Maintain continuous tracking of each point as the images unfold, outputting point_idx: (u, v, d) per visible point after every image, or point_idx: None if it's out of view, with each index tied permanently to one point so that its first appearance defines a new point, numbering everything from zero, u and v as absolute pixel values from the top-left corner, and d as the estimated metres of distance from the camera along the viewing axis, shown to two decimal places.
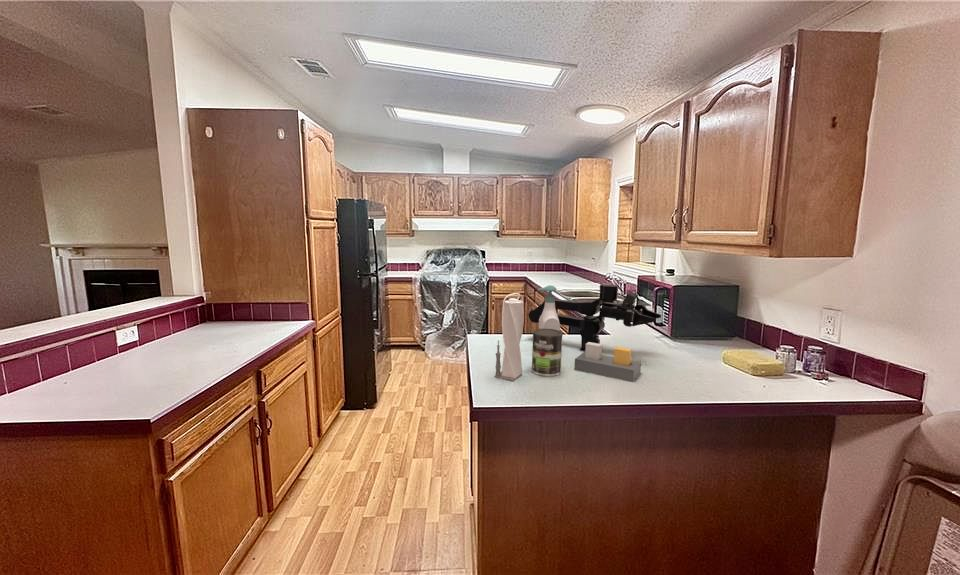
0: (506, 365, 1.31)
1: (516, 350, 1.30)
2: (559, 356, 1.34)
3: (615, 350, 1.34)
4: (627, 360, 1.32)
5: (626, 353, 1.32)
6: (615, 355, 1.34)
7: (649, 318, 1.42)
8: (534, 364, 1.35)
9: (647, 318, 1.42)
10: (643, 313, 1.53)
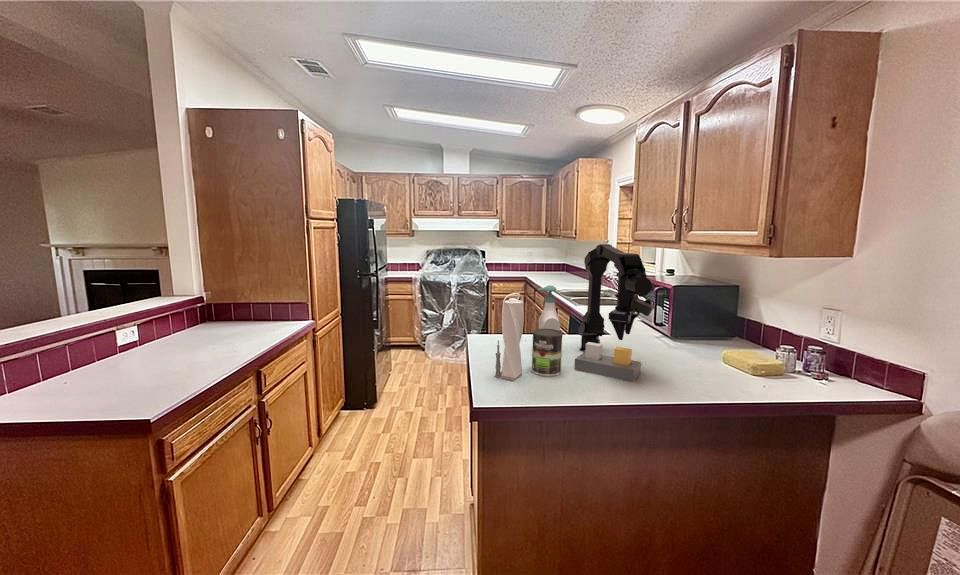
0: (506, 365, 1.31)
1: (516, 350, 1.30)
2: (559, 356, 1.34)
3: (615, 350, 1.34)
4: (627, 360, 1.32)
5: (626, 353, 1.32)
6: (615, 355, 1.34)
7: (621, 334, 1.28)
8: (534, 364, 1.35)
9: (621, 333, 1.28)
10: None
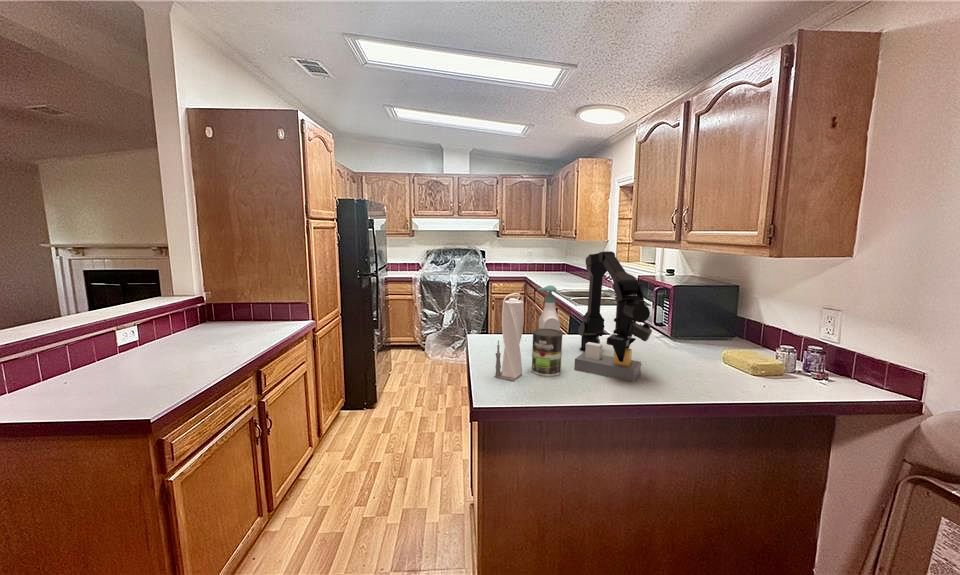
0: (506, 365, 1.31)
1: (516, 350, 1.30)
2: (559, 356, 1.34)
3: None
4: (627, 360, 1.32)
5: (626, 353, 1.32)
6: (615, 355, 1.34)
7: (622, 356, 1.32)
8: (534, 364, 1.35)
9: (621, 355, 1.31)
10: None
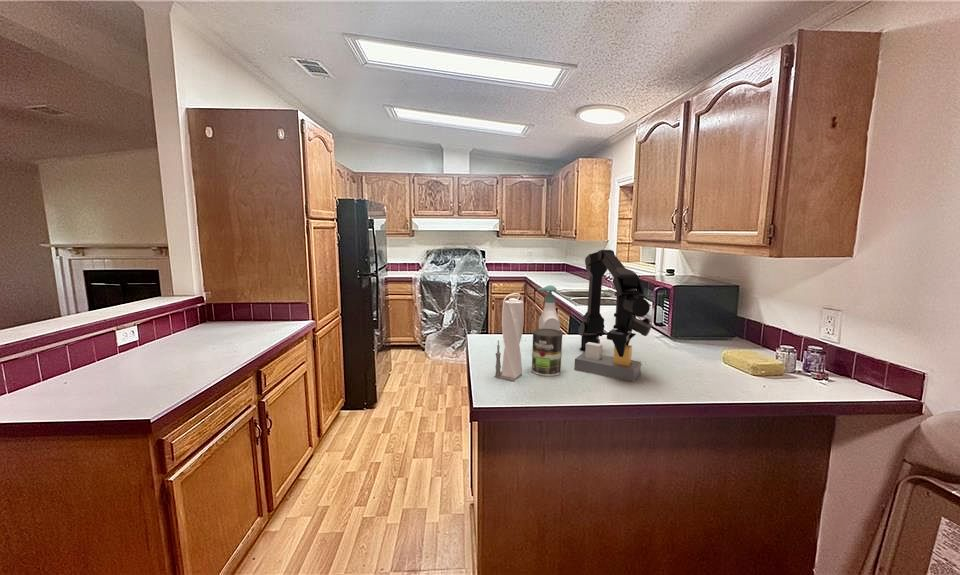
0: (506, 365, 1.31)
1: (516, 350, 1.30)
2: (559, 356, 1.34)
3: (615, 347, 1.33)
4: (627, 357, 1.31)
5: (626, 350, 1.31)
6: (615, 352, 1.34)
7: (622, 351, 1.31)
8: (534, 364, 1.35)
9: (621, 350, 1.31)
10: None
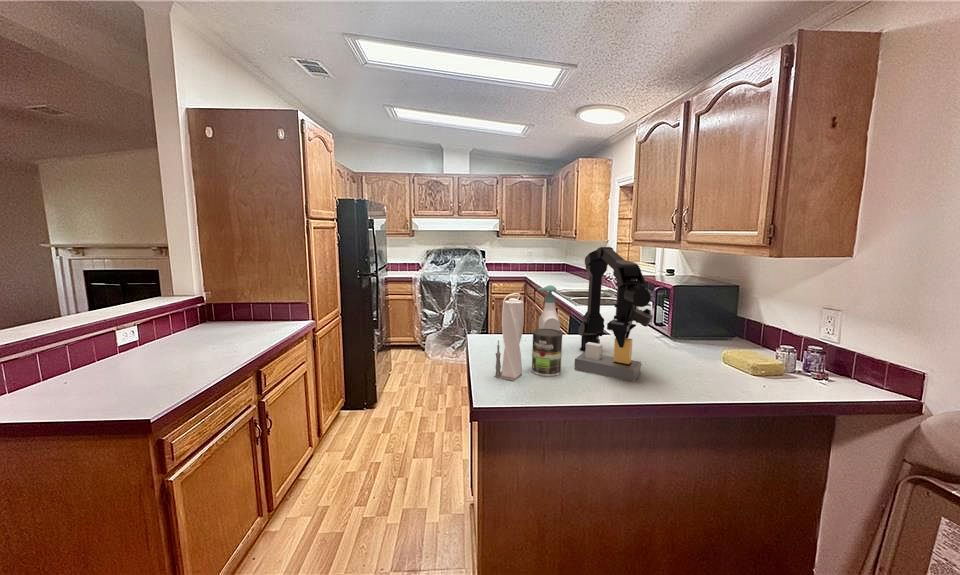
0: (506, 365, 1.31)
1: (516, 350, 1.30)
2: (559, 356, 1.34)
3: (616, 340, 1.33)
4: (628, 350, 1.31)
5: (627, 343, 1.31)
6: (616, 345, 1.33)
7: (622, 342, 1.31)
8: (534, 364, 1.35)
9: (622, 340, 1.31)
10: None
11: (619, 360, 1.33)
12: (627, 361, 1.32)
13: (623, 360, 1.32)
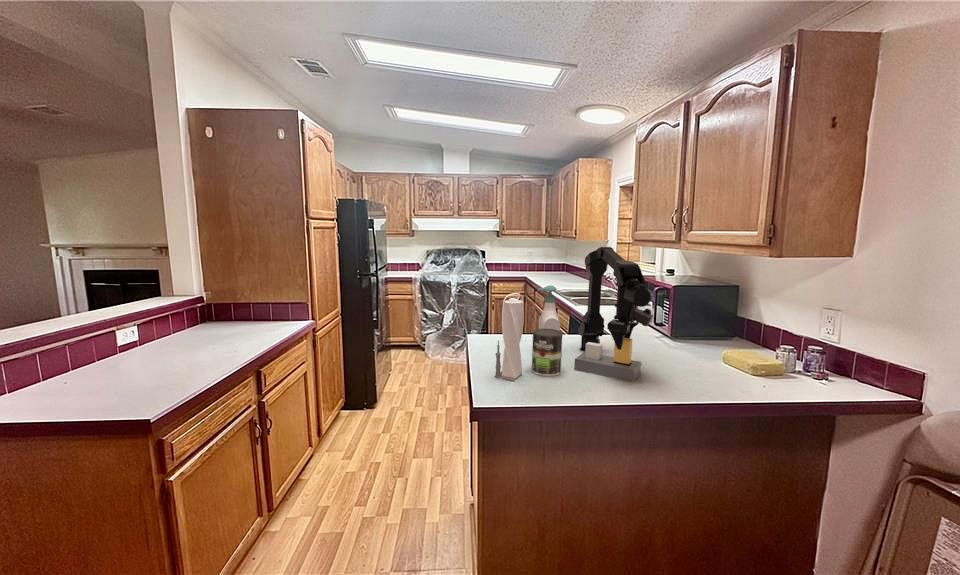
0: (506, 365, 1.31)
1: (516, 350, 1.30)
2: (559, 356, 1.34)
3: None
4: (628, 350, 1.31)
5: (627, 343, 1.31)
6: None
7: (620, 344, 1.29)
8: (534, 364, 1.35)
9: (620, 342, 1.28)
10: None
11: (619, 360, 1.33)
12: (627, 361, 1.32)
13: (623, 360, 1.32)
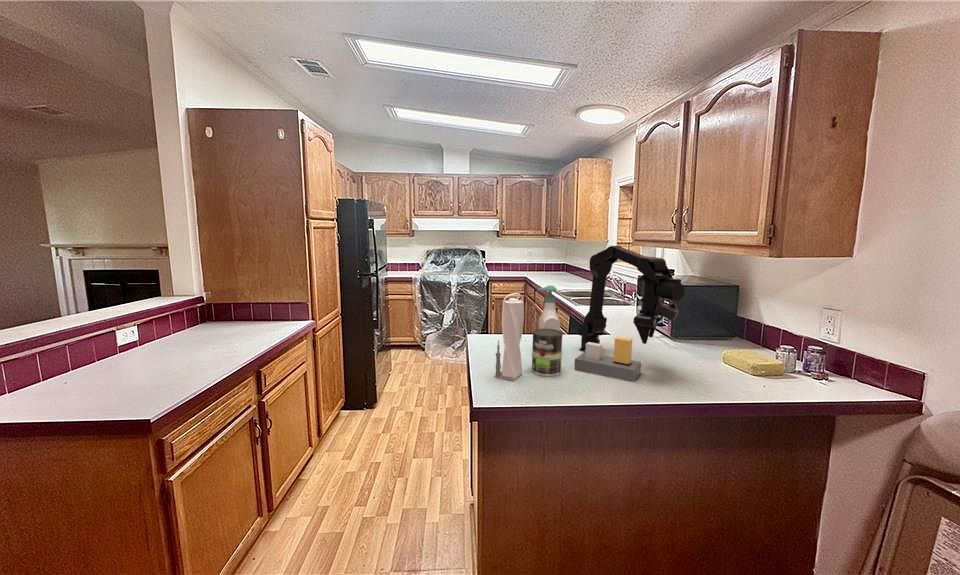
0: (506, 365, 1.31)
1: (516, 350, 1.30)
2: (559, 356, 1.34)
3: (616, 340, 1.33)
4: (628, 350, 1.31)
5: (627, 343, 1.31)
6: (616, 345, 1.33)
7: (645, 338, 1.30)
8: (534, 364, 1.35)
9: (645, 337, 1.29)
10: None
11: (619, 360, 1.33)
12: (627, 361, 1.32)
13: (623, 360, 1.32)
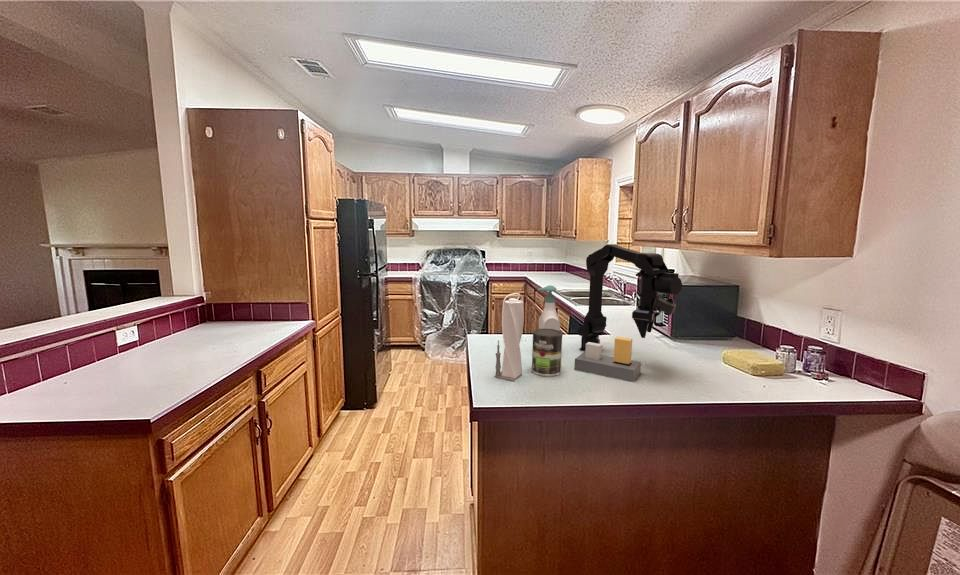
0: (506, 365, 1.31)
1: (516, 350, 1.30)
2: (559, 356, 1.34)
3: (616, 340, 1.33)
4: (628, 350, 1.31)
5: (627, 343, 1.31)
6: (616, 345, 1.33)
7: (644, 333, 1.31)
8: (534, 364, 1.35)
9: (644, 331, 1.31)
10: None
11: (619, 360, 1.33)
12: (627, 361, 1.32)
13: (623, 360, 1.32)
